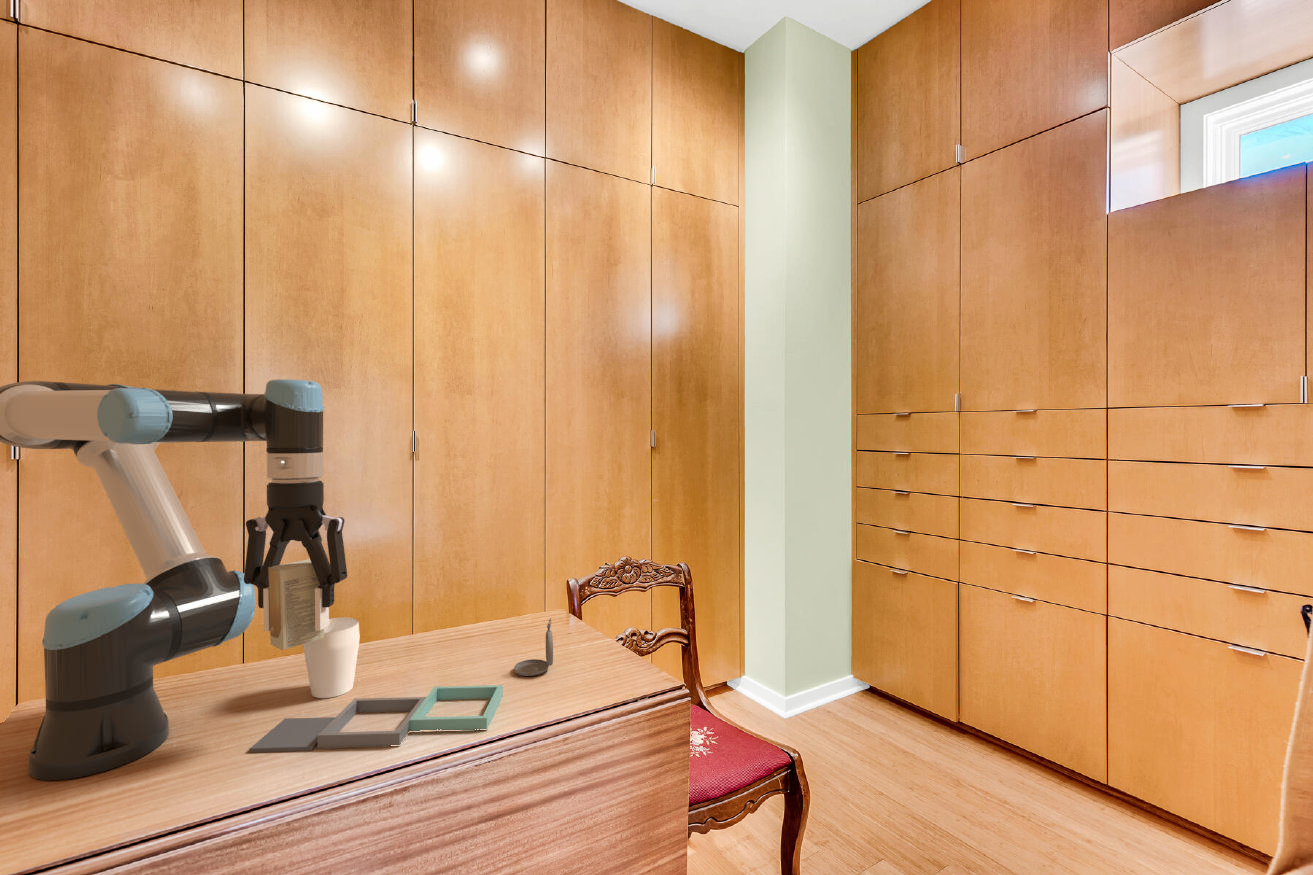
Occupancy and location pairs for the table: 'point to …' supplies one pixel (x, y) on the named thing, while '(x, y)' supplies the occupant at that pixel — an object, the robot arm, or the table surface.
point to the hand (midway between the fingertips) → (296, 627)
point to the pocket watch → (537, 665)
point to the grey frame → (337, 739)
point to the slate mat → (292, 735)
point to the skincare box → (293, 604)
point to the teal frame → (457, 722)
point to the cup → (333, 658)
